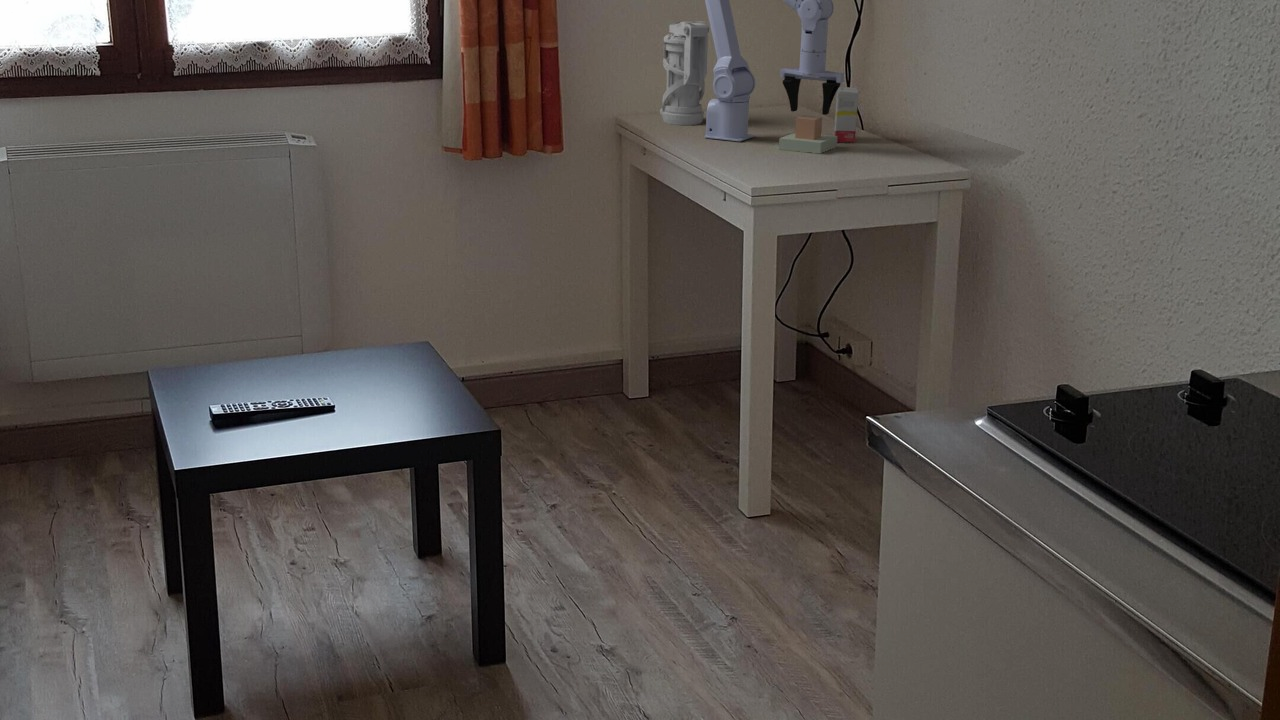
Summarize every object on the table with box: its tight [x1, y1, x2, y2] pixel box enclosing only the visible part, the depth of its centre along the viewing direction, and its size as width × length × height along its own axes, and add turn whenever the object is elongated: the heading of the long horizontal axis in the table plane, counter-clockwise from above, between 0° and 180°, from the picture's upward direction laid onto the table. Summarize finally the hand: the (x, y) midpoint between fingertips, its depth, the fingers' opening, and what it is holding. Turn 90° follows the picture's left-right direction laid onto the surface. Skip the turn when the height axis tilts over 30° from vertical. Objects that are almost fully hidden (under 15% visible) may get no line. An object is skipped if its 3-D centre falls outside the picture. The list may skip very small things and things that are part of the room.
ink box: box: [833, 86, 859, 144], centre depth 317 cm, size 9×5×12 cm, turn 173°
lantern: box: [659, 20, 710, 126], centre depth 335 cm, size 13×10×25 cm
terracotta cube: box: [794, 115, 823, 140], centre depth 306 cm, size 4×4×4 cm
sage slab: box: [778, 132, 838, 154], centre depth 308 cm, size 10×10×2 cm
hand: (809, 112), depth 305 cm, fingers open, 7 cm apart
